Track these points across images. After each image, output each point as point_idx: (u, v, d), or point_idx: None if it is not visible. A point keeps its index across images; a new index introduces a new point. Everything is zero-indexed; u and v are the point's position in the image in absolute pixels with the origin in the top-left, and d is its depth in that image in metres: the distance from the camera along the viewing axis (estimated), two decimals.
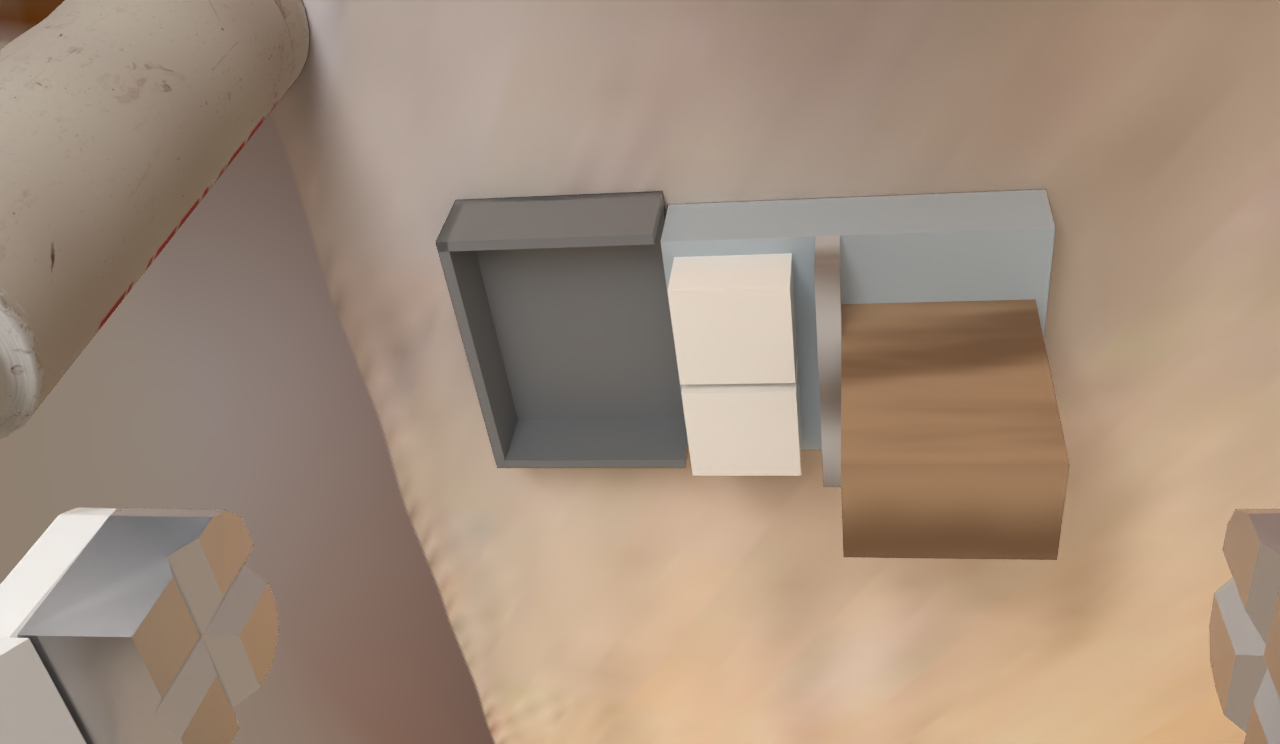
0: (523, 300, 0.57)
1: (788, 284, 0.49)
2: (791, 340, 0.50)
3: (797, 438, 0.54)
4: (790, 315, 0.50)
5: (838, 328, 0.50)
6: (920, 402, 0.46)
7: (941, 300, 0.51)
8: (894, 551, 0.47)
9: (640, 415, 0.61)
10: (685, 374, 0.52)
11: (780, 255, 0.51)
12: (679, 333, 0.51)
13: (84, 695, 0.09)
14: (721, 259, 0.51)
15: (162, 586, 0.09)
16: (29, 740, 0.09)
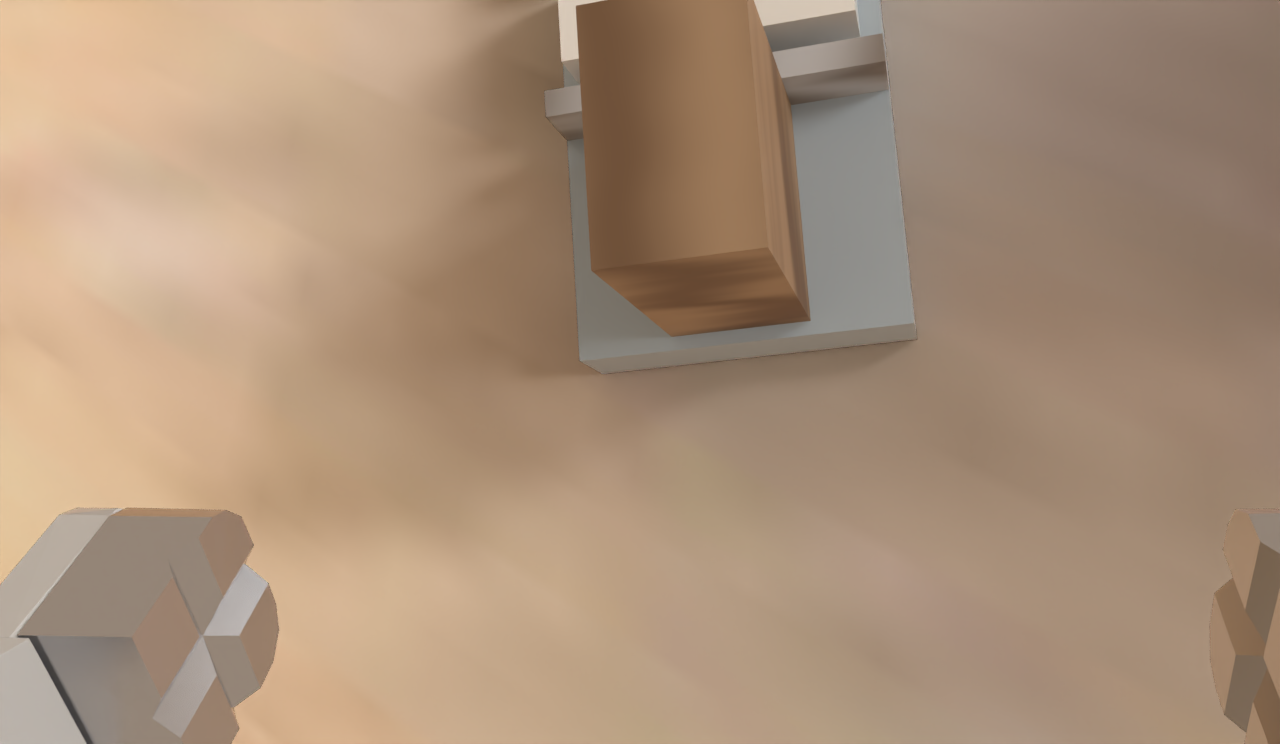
0: None
1: (855, 11, 0.41)
2: (776, 22, 0.42)
3: None
4: (813, 16, 0.41)
5: (798, 72, 0.41)
6: (771, 117, 0.37)
7: (802, 215, 0.43)
8: (590, 66, 0.35)
9: None
10: None
11: (859, 27, 0.43)
12: None
13: (83, 695, 0.09)
14: None
15: (161, 586, 0.09)
16: (28, 740, 0.09)
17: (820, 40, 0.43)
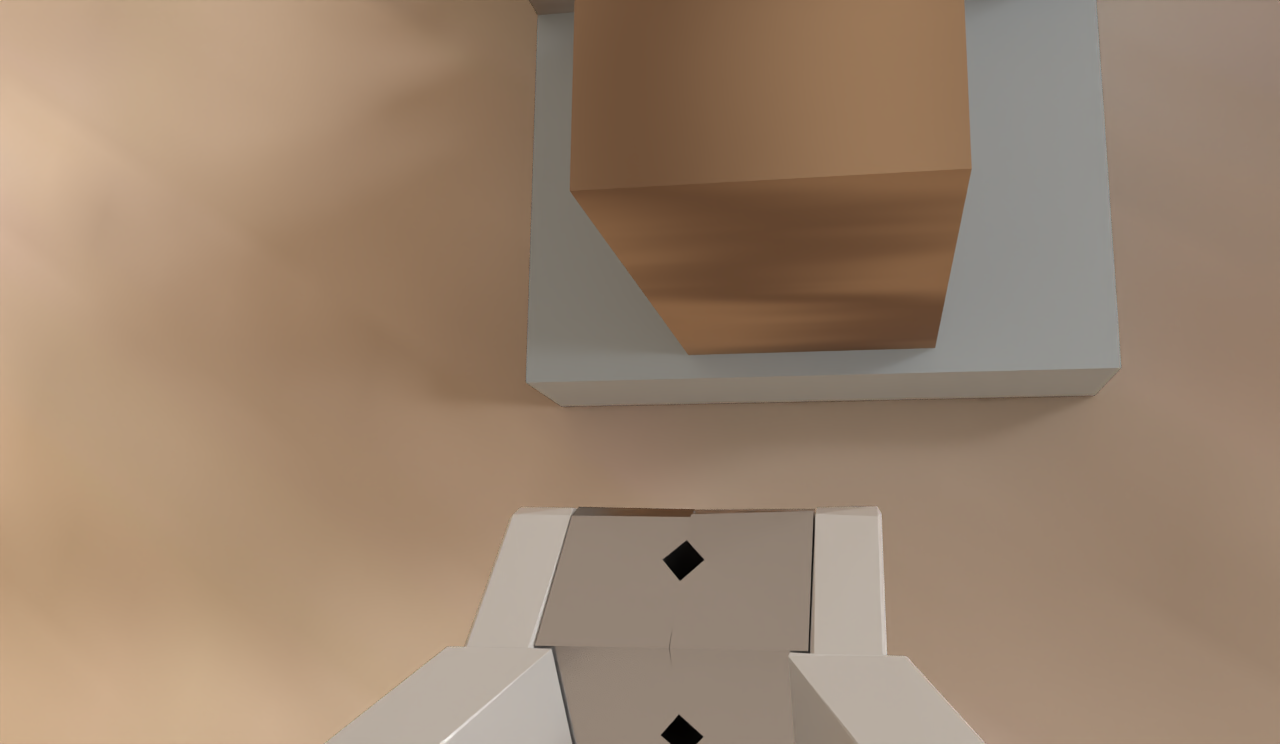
0: None
1: None
2: None
3: None
4: None
5: None
6: None
7: None
8: None
9: None
10: None
11: None
12: None
13: (589, 710, 0.09)
14: None
15: (671, 592, 0.09)
16: None
17: None
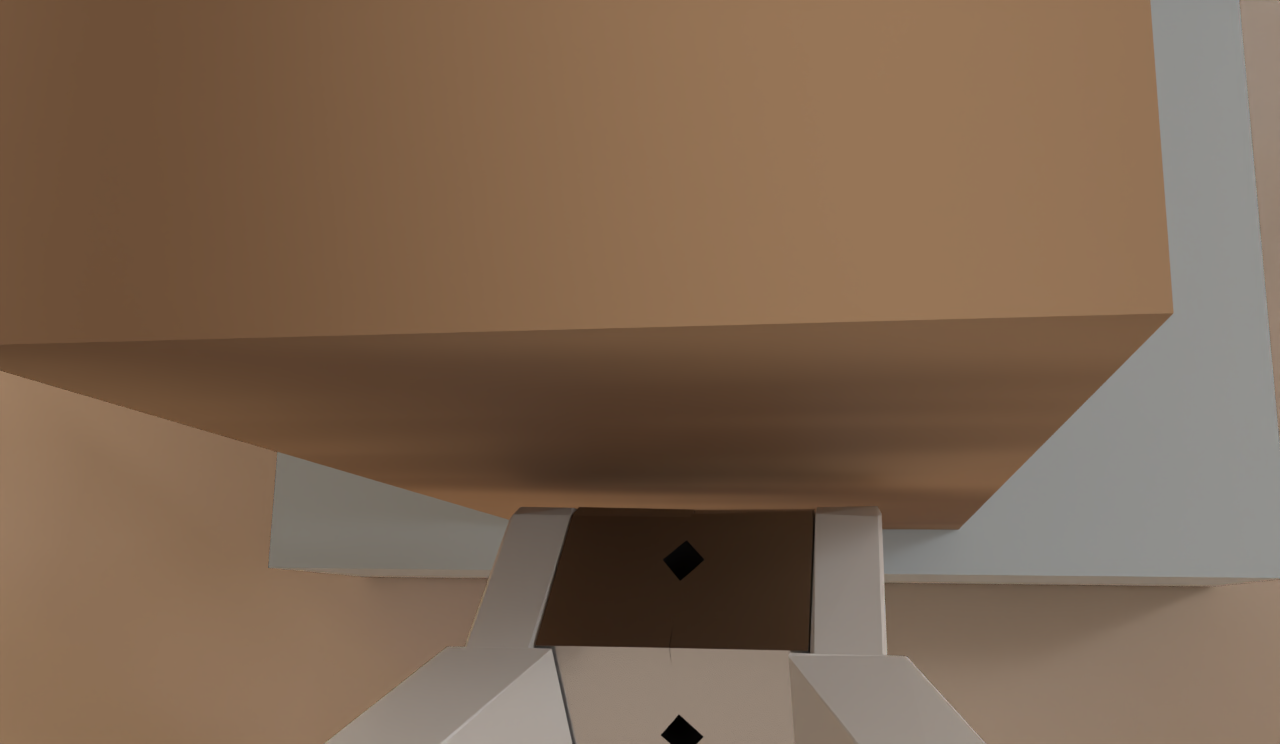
0: None
1: None
2: None
3: None
4: None
5: None
6: None
7: None
8: None
9: None
10: None
11: None
12: None
13: (590, 710, 0.09)
14: None
15: (671, 592, 0.09)
16: None
17: None
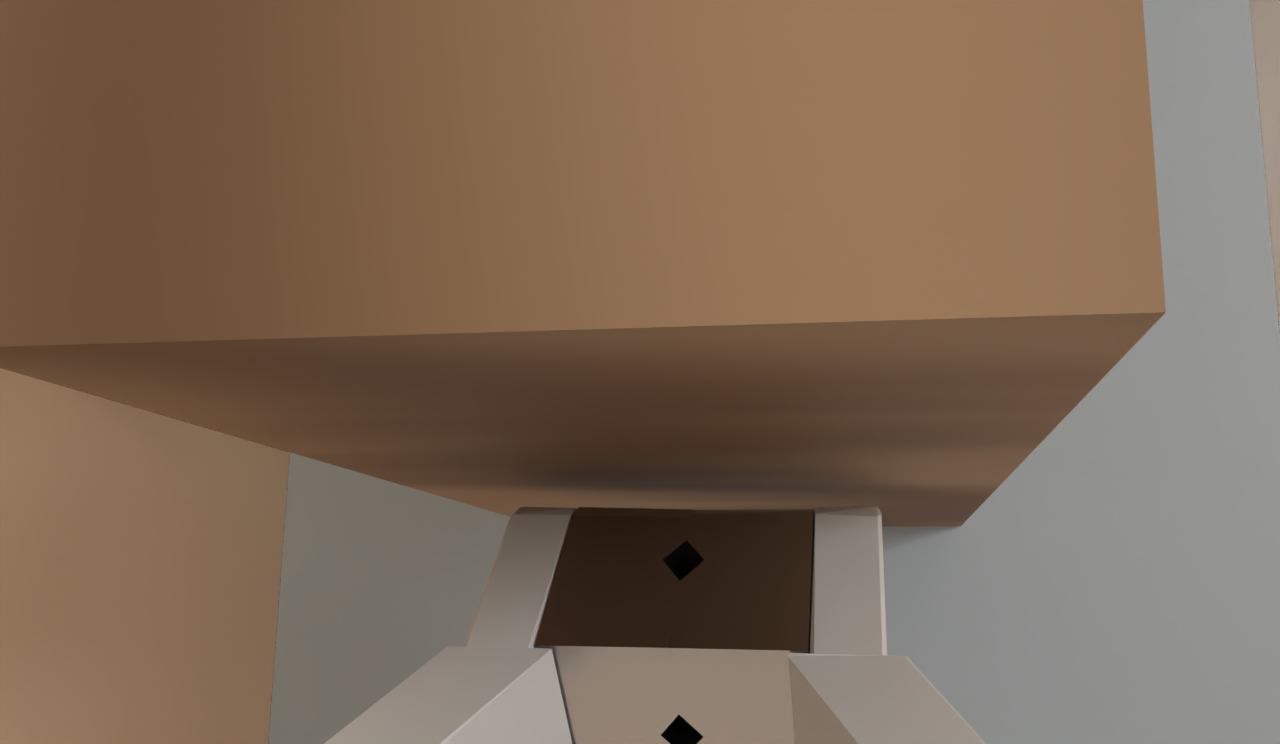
0: None
1: None
2: None
3: None
4: None
5: None
6: None
7: None
8: None
9: None
10: None
11: None
12: None
13: (589, 710, 0.09)
14: None
15: (671, 592, 0.09)
16: None
17: None
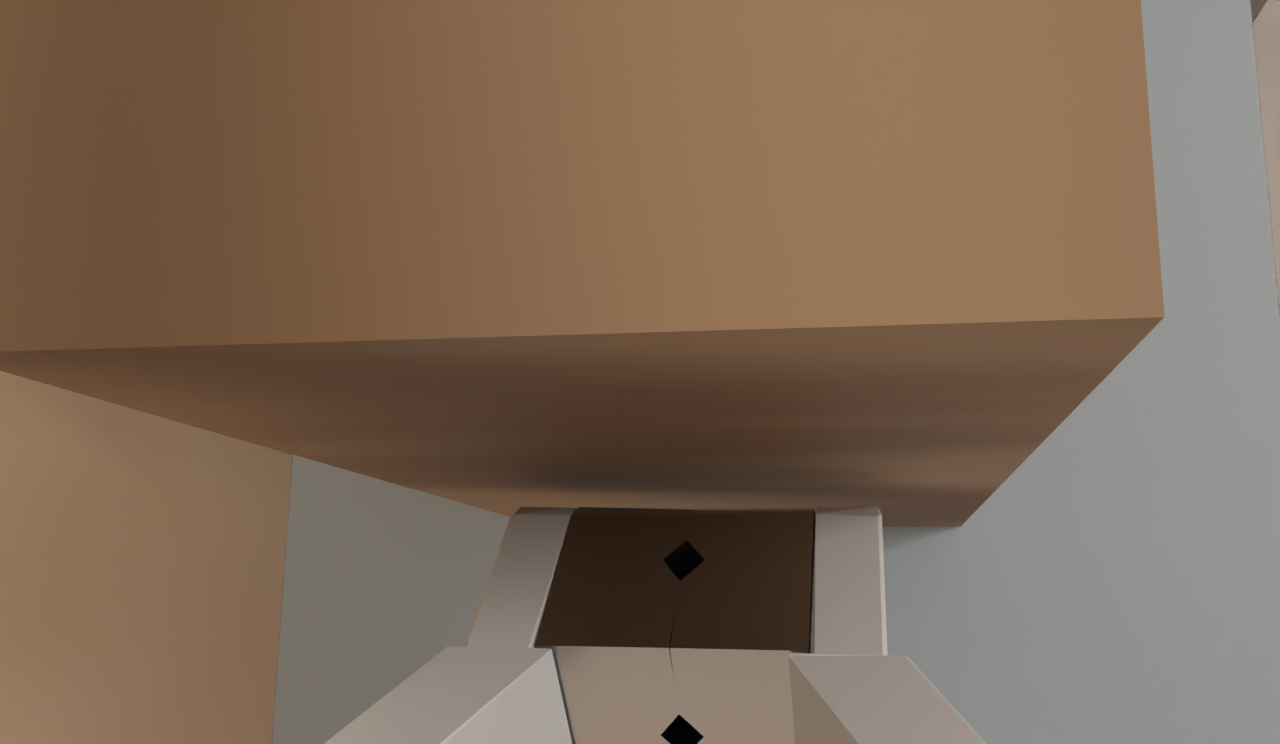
0: None
1: None
2: None
3: None
4: None
5: None
6: None
7: None
8: None
9: None
10: None
11: None
12: None
13: (590, 710, 0.09)
14: None
15: (671, 592, 0.09)
16: None
17: None
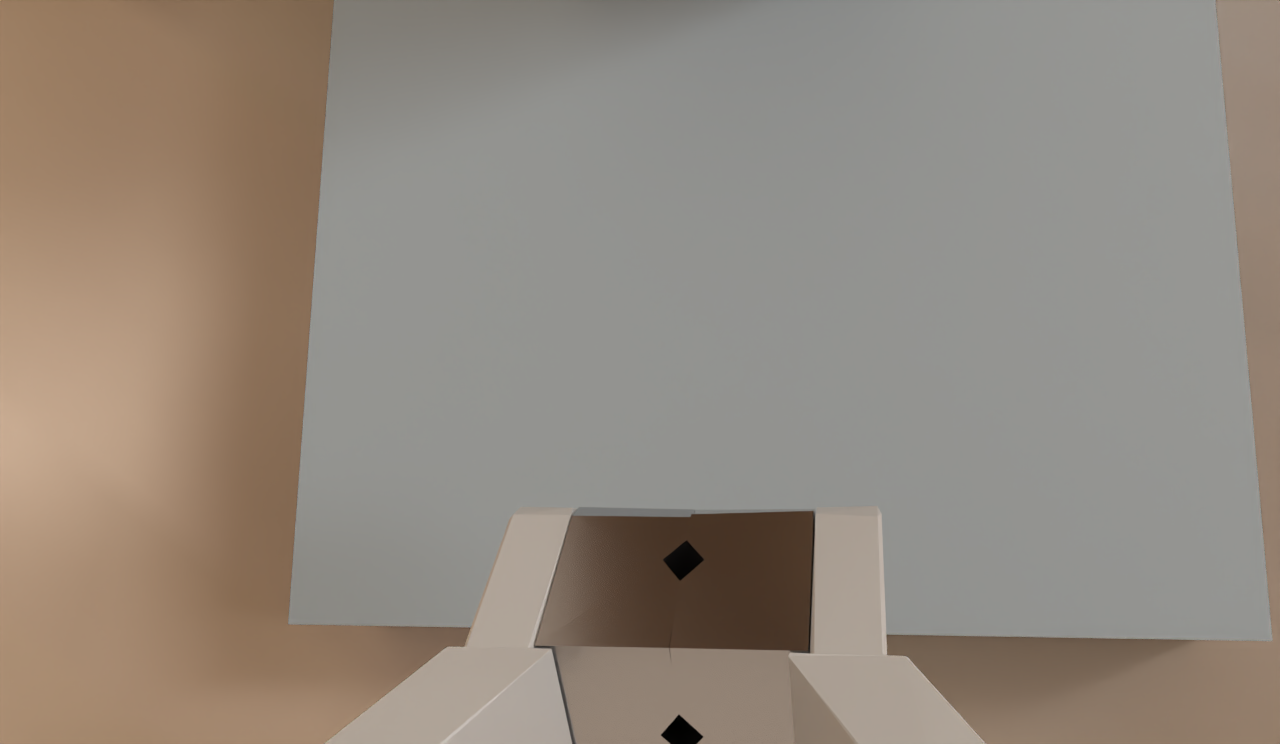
0: None
1: None
2: None
3: None
4: None
5: None
6: None
7: (947, 284, 0.15)
8: None
9: None
10: None
11: None
12: None
13: (589, 710, 0.09)
14: None
15: (671, 592, 0.09)
16: None
17: None
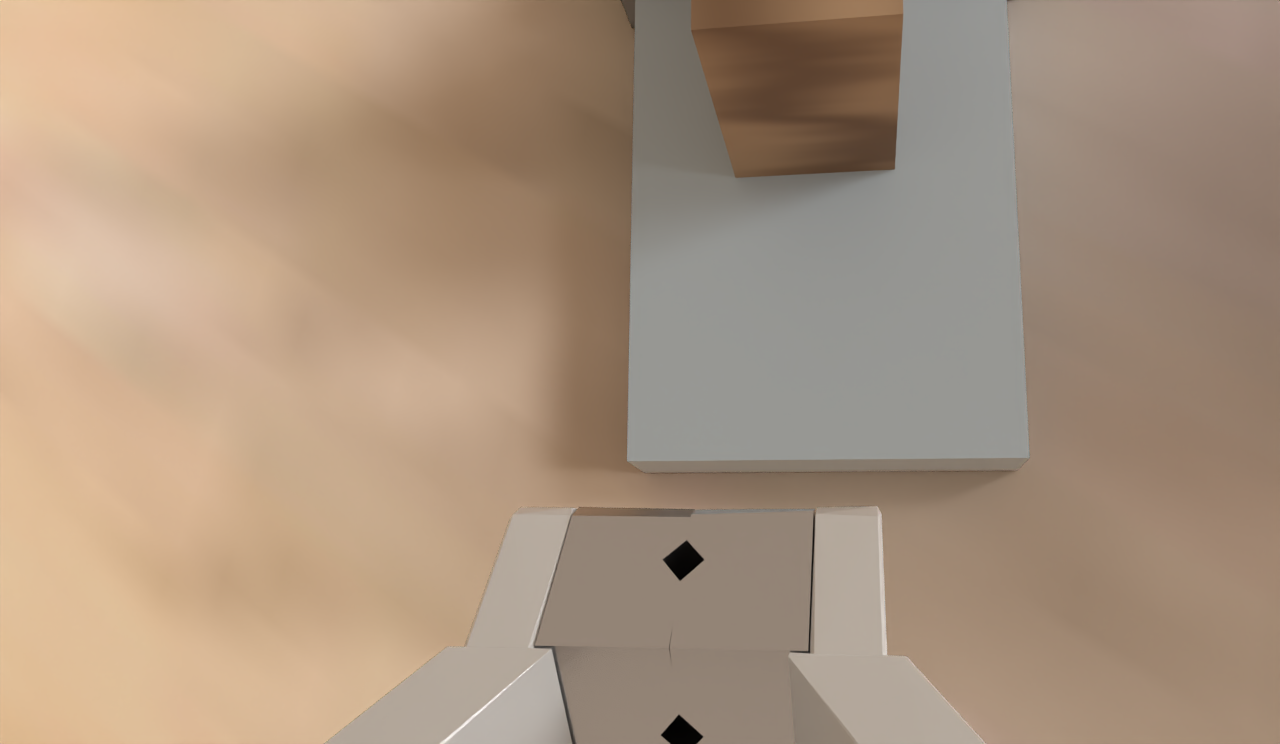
0: None
1: None
2: None
3: None
4: None
5: None
6: None
7: (905, 317, 0.37)
8: None
9: None
10: None
11: None
12: None
13: (589, 710, 0.09)
14: None
15: (671, 592, 0.09)
16: None
17: None
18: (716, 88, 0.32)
